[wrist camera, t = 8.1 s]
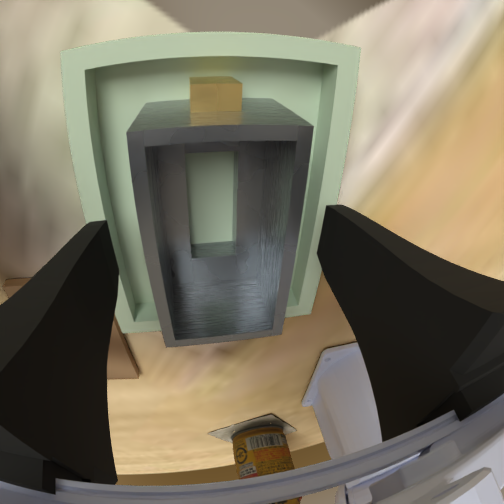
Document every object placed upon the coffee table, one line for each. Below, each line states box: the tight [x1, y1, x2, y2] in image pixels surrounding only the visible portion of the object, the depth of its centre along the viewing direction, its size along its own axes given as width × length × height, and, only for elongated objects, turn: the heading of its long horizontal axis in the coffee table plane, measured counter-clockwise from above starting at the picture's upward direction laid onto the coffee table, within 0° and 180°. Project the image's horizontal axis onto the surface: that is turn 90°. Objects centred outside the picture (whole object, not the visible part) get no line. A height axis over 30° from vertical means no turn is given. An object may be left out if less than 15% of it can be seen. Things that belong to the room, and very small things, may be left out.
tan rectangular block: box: [3, 278, 139, 379], centre depth 14 cm, size 9×6×4 cm, turn 177°
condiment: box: [208, 415, 302, 504], centre depth 26 cm, size 7×8×12 cm
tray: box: [60, 32, 361, 333], centre depth 12 cm, size 13×10×2 cm
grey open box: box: [126, 76, 314, 347], centre depth 10 cm, size 9×4×4 cm, turn 177°
